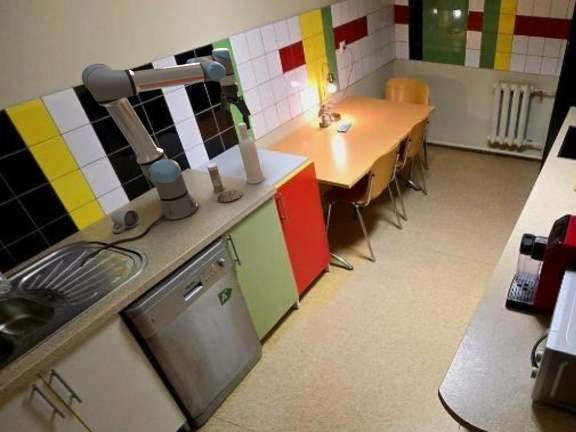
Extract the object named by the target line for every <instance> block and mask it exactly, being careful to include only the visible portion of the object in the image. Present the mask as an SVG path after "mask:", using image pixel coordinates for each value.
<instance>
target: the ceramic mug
mask: <svg viewBox="0 0 576 432" xmlns="http://www.w3.org/2000/svg"><path fill="white" fill-rule="evenodd" d="M111 221H112V223H113V224H112V225H111V231H112V232H113V233H115V234H120V233H122V232H123V231H124V230H125V229H126V228H129V229H132V228H135V227H136V226H137V225H138V224H139V222H140V214H139V213H138V212H137V211H136V210H135V209H126V208H120V209H116V210H115V211H113V212H112V215H111ZM117 226H119V229H117V230H116V228H117Z"/></svg>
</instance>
